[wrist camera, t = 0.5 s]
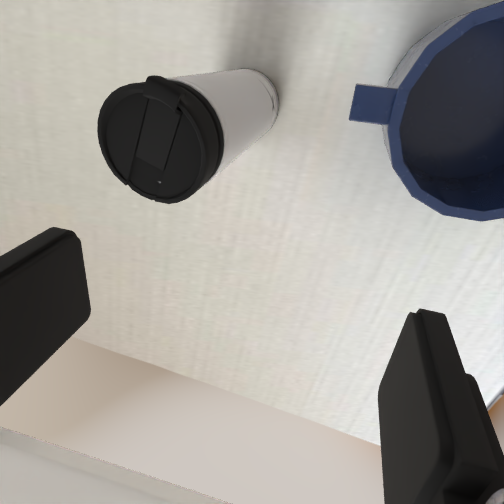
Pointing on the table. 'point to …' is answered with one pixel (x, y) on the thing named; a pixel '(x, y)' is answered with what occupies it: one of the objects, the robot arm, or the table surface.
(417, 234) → the table surface
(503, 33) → the pot
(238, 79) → the travel mug
